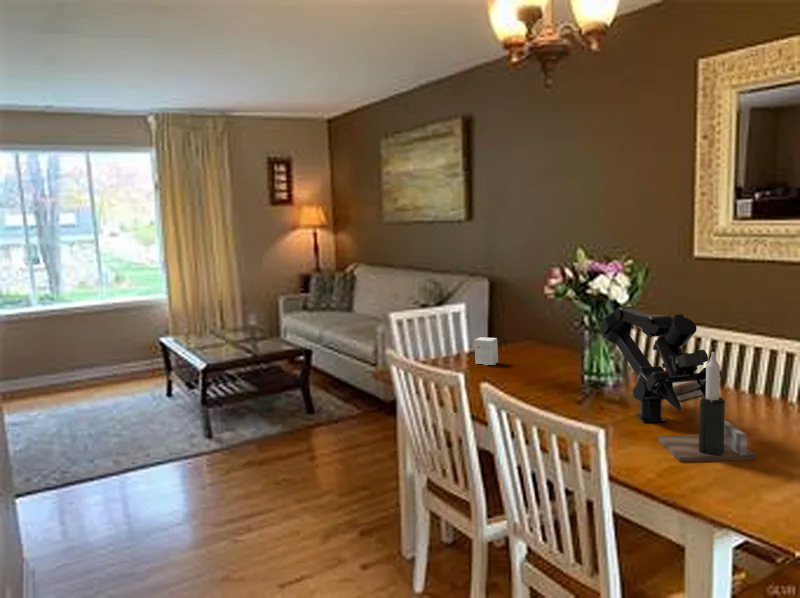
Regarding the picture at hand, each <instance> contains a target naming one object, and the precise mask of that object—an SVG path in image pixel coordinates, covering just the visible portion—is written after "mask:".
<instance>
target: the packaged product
mask: <svg viewBox="0 0 800 598" xmlns="http://www.w3.org/2000/svg"><path fill="white" fill-rule="evenodd" d="M700 386H701V385H699V384H698V383H697V381H688V382H677V383H673V390H674V392H675V394H676V396H677V398H678V400H679V402H680V401H684V400H688V399H691V398H696V397H699V396H700V397H701V396H704V395H703V393H702V392H701V390H700V389H699V387H700Z"/></svg>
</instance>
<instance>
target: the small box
mask: <svg viewBox="0 0 800 598" xmlns="http://www.w3.org/2000/svg"><path fill="white" fill-rule="evenodd" d="M474 360H475V363H476V364H475V365H477V364H483V365H482V366H488V365H494V366H495V365H497V364H498V363H499V351H498V338H497V337H483V336H482V337H481V336H480V337H478V338H475V339H474ZM496 363H497V364H496Z"/></svg>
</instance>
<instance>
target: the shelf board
mask: <svg viewBox="0 0 800 598" xmlns="http://www.w3.org/2000/svg"><path fill="white" fill-rule="evenodd" d="M657 442H659V443H660V444H661V445H662V446H663V447H664V448H665V449H666V450H667V451H668V452H669V453H670V454H671V455H672V456H673V457H674V458H675V459H676V460H677V461H678V462H680V463H681V462H682V463H683V462H685V463H686V462H717V461H718V462H719V461H720V462H721V461H722V462H723V461H751V460H752V461H753V460H754V461H756V460H757V455H756V454H755V453H754V452H753V451H752V450H750V449H749V448H748V434H746V433H745V432H743V431H742V430H740V429H739V428H737V426H734V425H733V424H732V423H730V422H729V421H727V420H726V419H725V420H724V451H723V453H722V455H720V456H716V455H712V454H706V453H701V452H699V434H679V435H678V434H676V435H675V434H673V435H671V434H670V435H657Z"/></svg>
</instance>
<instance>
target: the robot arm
mask: <svg viewBox="0 0 800 598" xmlns="http://www.w3.org/2000/svg"><path fill="white" fill-rule="evenodd" d="M599 326H600V327H599V328H600V329H599V330H600V333H601V335H602V336H603V337H604V338H605V340H606V341H608V342H609V343H612V344H614V345H616V347H617V348H618V349H619V350H620V352H621V353H622V355H623V356H624V358H625V359H626V361H627V362H628V364H629V366H630V367H631V368H632V370H633V371H634V373H635V375H636V376H637V380H636V385H635V387H634V388H633V389H632V395H633V398H634V399H636V400H638V401H639V402H640V413H636V414H635V416H636V417H637V418H638V419H639V420H640V421H641V422H642V423H644V424H646V423H666V422H667V419H666V418H665V417H663V415H662V414H663V400H666V401H667V402H668V403H669V404H670V405H672V406H673V407H674V408H675V409H676V410H677V411H681V409H682V406H681V403H680V401H679V400H678V398H677V396H676V394H675V392H674V390H673V383H677V382H688V381H697V383H698V384H699V385H701V386H700V387H699V389H700V390H701V392H702V393H703V395H702V396H706V367H703V368H702V369H701V370H700V371H699V372H696V371H697V370H698V366H699V367H700V366H703V365H704V363H706V362H707V363H708V362H709V355H708V353H707V352H706V350H705V349H697V350H695V351H694V352H691V353H690V352H689V353H688V352H685V351H684V350H683V346H685V345H686V344H687V343H688V342H689V340H690V339H691V338H692V337H693V336H694V335H695V333H696V332H697V331H698V330H697V329H698V328H697V325H696V323H695V322H694V321H693V320H691V319H689V318H688V317H685V316H684V314H683V313H679V314H677V313H676V314H675V315H674V316H673V317H672V316H671V315H669V314H650V313H647V312H645V311H641V310H638V309H635V308H634V307H631V306H621V307H617V308H615V310H613V312H612V313H610V314H609V315H607V316H606V317H605V318H604V319H603V320H602V322H601V324H600V325H599ZM634 326H635V327H638V328H640V329H641V331H642V333H643V334H644V335H646V336H647V337H648V338H655V337H659V338H658V339H657V340H654V344H653V346H652V350H653V351H658V353H659V356H660V358H661V359H662V364H661V365H659V366H657V365H656V366H653V365H652V364H651V362H650V361H649V360H648V359H647V357H646V355H645V354H644V353H643V352H642V350H641V348H640V347H639V346H638V345H637V343H636V341H635V340H634V338H633V337H632V336H631V333H632V332H631V331H632V328H633V327H634ZM664 369H665V370H664ZM694 371H695V372H696V373H694ZM722 377H723V372H722V370H721V369H720V378H722Z"/></svg>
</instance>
